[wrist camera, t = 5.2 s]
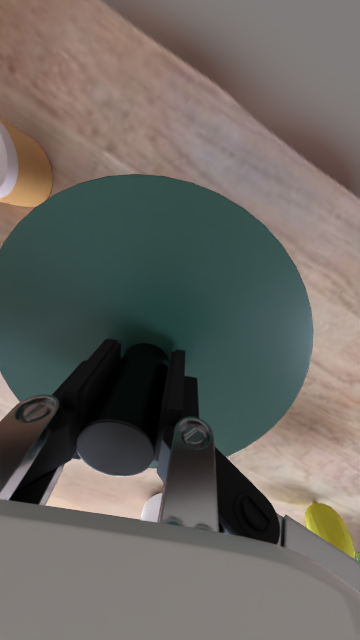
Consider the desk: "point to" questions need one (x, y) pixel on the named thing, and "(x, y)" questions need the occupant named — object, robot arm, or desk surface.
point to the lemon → (329, 527)
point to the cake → (22, 168)
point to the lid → (153, 311)
